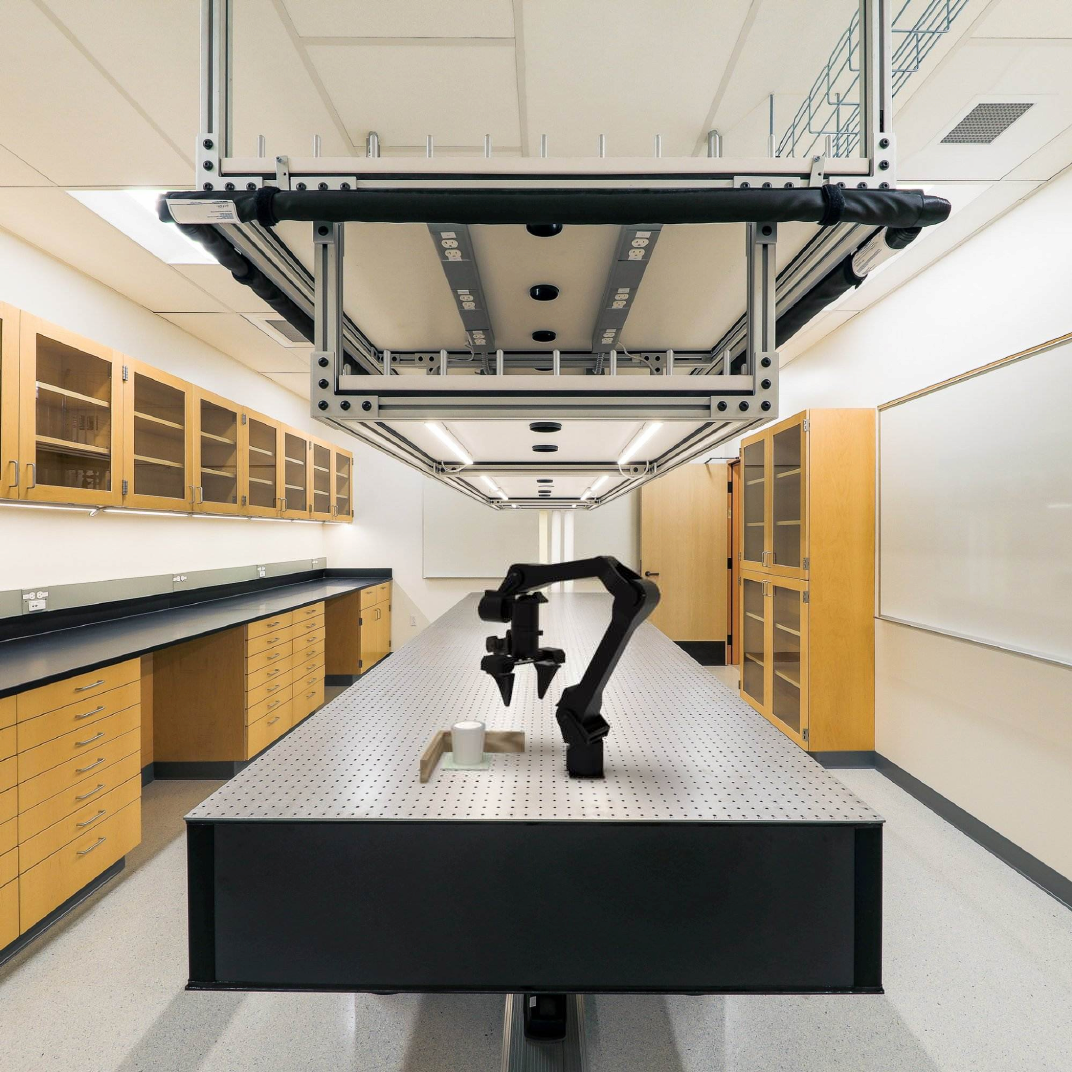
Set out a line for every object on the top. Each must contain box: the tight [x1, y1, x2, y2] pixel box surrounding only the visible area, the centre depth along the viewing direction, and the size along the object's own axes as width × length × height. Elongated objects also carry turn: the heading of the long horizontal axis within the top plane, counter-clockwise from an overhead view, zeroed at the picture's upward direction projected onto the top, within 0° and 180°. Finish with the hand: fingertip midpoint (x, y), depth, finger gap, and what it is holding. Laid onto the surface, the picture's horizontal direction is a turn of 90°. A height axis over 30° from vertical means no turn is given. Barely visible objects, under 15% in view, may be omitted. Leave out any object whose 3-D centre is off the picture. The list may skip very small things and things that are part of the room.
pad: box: [440, 752, 494, 772], centre depth 117 cm, size 9×9×1 cm
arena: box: [419, 729, 526, 784], centre depth 115 cm, size 18×18×4 cm
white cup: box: [450, 719, 487, 766], centre depth 117 cm, size 7×7×7 cm
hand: (524, 702), depth 120 cm, fingers open, 9 cm apart
